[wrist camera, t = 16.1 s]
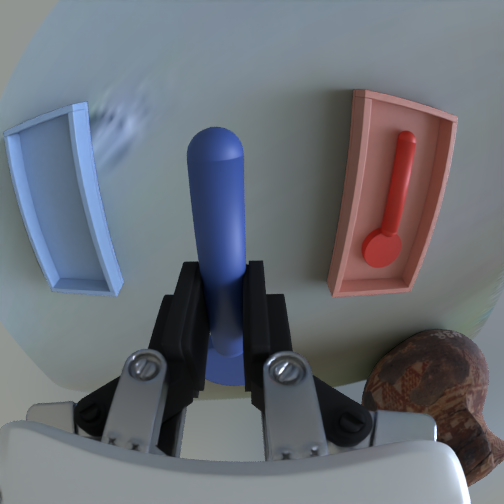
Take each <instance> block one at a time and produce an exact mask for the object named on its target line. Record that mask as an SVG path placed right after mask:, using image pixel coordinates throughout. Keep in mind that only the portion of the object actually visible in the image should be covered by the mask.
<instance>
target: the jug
mask: <svg viewBox="0 0 504 504" xmlns="http://www.w3.org/2000/svg"><path fill="white" fill-rule="evenodd" d="M488 383H489V371H488V366H487V363H486V360H485V357H484V355H483V354H482V352H481V350H480V349H479V348H478V346H477V345H476V344H475V343H474V342H473V341H472V340H471V339H469V338H468V337H466V336H465V335H463V334H461V333H459V332H455V331H451V330H442V329H435V330H428V331H423V332H421V333H418V334H416V335H414V336H412V337H410V338H409V339H407V340H405V341H404V342H402V343H401V344H399V345H398V346H396V347H395V348H394V349H393V350H391V351H390V352H389V353H388V354H386V355H385V356H384V357H383V358H382V359H381V360H380V361H379V362H378V363H377V364H376V366H375V367H374V369H373V371H372V373H371V375H370V376H369V378H368V379H367V382H366V384H365V387H364V391H363V395H362V404H361V405H362V406H364V407H365V408H366V409H367V410H368V411H377V410H387V411H398V412H412V413H425V414H428V415H430V416H431V417H432V418H433V419H434V421H435V422H436V428H437V434H436V441H437V442H441V443H444V444H446V445H448V446H449V447H450V448H451V449H452V450H453V451H454V453H455V454H456V456H457V458H458V460H459V462H460V464H461V467H462V469H463V472H464V476H465V479H466V483H467V487H469V486H471V485H472V484H474V483H476V482H477V481H479V480H481V479H482V478H484V477H485V476H487V475H488V474H489V473H490V472H491V471H492V470H493V469H494V468H495V467H496V466H497V465H498V464H500V463H501V462H502V461H503V460H504V441H503V440H501V439H500V438H498V437H497V436H495V435H494V434H493V433H492V432H491V431H490V430H489V428H488V427H487V425H486V423H485V421H484V419H483V415H482V410H483V406H484V402H485V398H486V393H487V389H488Z"/></svg>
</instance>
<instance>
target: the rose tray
mask: <svg viewBox="0 0 504 504" xmlns="http://www.w3.org/2000/svg"><path fill="white" fill-rule="evenodd" d="M457 119H458V117H457V116H455V115H452V114H450V113H447V112H444V111H441V110H439V109H436V108H433V107H430V106H427V105H424V104H420V103H417V102H414V101H410V100H407V99H403V98H399V97H396V96H392V95H388V94H383V93H379V92H374V91H370V90H361V89H353V101H352V116H351V128H350V139H349V148H348V158H347V166H346V174H345V182H344V189H343V196H342V203H341V209H340V215H339V221H338V227H337V233H336V238H335V244H334V249H333V254H332V259H331V264H330V269H329V274H328V279H327V284H328V287H329V290H330V292H331V295H332V297H346V296H362V295H377V294H390V293H402V292H411V290H412V287H413V285H414V283H415V280H416V278H417V275H418V273H419V270H420V268H421V265H422V262H423V260H424V257H425V254H426V252H427V249H428V246H429V243H430V240H431V237H432V234H433V231H434V228H435V224H436V221H437V218H438V214H439V211H440V207H441V204H442V200H443V196H444V192H445V188H446V184H447V179H448V175H449V170H450V165H451V160H452V154H453V149H454V142H455V136H456V128H457ZM404 130H407V131H410V132H412V133H413V134H414V136H415V138H416V147H415V153H414V159H413V165H412V170H411V176H410V181H409V186H408V190H407V195H406V199H405V204H404V208H403V212H402V216H401V220H400V224H399V227H398V231H397V234H398V236H399V237H400V239H401V243H402V247H401V251H400V254H399V255H398V257H397V258H396V259H395V260H394V261H393V262H392V263H391V264H389V265H388V266H386V267H382V268H374V267H371V266H369V265H368V264H367V262H366V261H365V259H364V257H363V255H362V251H361V249H362V244H363V241H364V240H365V238H366V237H367V235H368V234H369V233H371V232H372V231H373V230H375V229H377V228H381V224H382V220H383V216H384V211H385V207H386V202H387V198H388V193H389V188H390V182H391V177H392V171H393V165H394V159H395V152H396V146H397V138H398V135H399V133H400V132H402V131H404Z"/></svg>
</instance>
